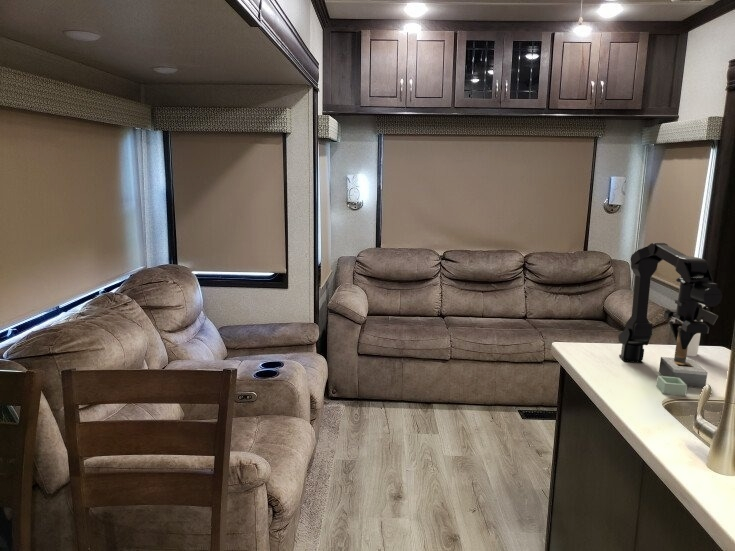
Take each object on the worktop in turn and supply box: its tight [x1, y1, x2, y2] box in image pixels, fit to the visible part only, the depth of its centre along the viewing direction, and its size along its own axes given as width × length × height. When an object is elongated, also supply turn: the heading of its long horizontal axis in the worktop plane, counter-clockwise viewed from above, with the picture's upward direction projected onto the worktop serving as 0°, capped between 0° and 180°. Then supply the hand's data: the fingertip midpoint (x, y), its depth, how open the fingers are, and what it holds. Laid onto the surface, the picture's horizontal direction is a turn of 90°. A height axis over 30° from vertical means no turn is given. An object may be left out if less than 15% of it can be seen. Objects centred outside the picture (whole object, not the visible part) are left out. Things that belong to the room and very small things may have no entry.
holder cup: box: [656, 375, 688, 397], centre depth 176 cm, size 6×6×4 cm
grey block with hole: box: [658, 356, 708, 389], centre depth 185 cm, size 10×12×6 cm
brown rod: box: [673, 326, 688, 363], centre depth 176 cm, size 3×3×11 cm
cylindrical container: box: [686, 303, 706, 357], centre depth 212 cm, size 7×7×25 cm
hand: (681, 347), depth 176 cm, fingers closed on brown rod, 3 cm apart
